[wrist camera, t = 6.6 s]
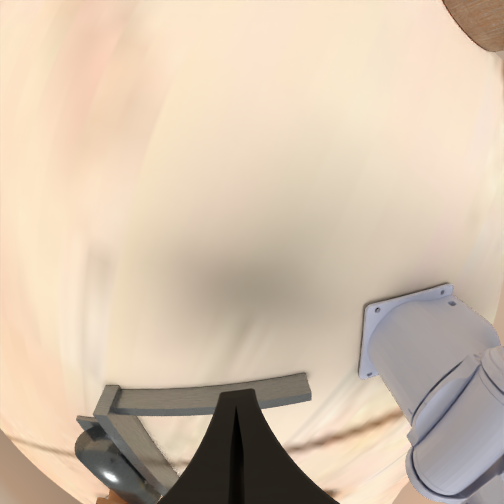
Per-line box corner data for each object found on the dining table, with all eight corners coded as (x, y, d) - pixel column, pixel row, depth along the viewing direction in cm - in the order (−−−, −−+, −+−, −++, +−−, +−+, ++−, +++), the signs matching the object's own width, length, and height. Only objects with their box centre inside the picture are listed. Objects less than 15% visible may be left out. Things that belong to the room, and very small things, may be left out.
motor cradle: (304, 368, 22) (323, 423, 16) (304, 481, 30) (312, 514, 24) (54, 381, 22) (30, 421, 16) (140, 488, 29) (135, 518, 23)
